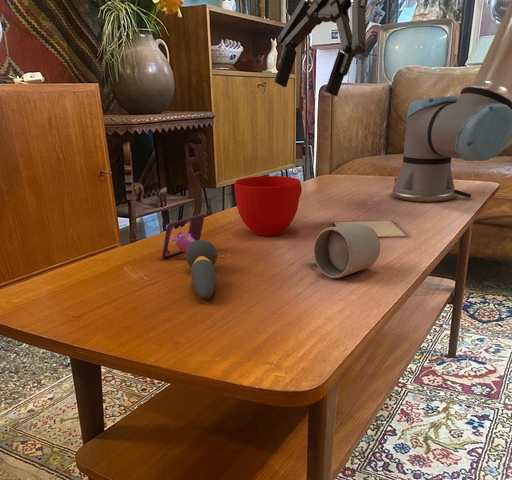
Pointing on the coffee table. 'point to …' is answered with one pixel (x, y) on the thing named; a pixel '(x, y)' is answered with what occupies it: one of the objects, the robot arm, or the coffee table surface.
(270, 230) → the ceramic cup
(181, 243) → the purple open frame
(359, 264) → the ceramic mug
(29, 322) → the coffee table surface
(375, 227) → the coaster
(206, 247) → the grey wand massager
